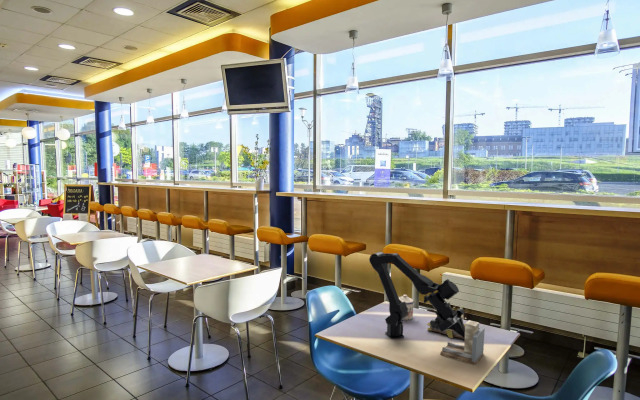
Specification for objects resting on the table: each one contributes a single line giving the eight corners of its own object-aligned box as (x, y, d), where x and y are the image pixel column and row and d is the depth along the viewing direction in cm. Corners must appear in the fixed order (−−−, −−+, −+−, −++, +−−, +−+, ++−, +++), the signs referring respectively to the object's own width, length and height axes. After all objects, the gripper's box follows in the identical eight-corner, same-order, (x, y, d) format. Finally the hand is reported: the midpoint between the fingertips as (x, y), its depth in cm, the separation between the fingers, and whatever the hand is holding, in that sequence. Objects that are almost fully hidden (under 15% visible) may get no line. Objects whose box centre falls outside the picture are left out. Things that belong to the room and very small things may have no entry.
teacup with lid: (410, 321, 200) (411, 298, 199) (393, 318, 204) (393, 296, 203) (416, 314, 210) (417, 292, 210) (399, 311, 215) (400, 290, 214)
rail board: (440, 354, 164) (440, 349, 163) (449, 344, 173) (449, 339, 173) (475, 364, 155) (475, 359, 155) (483, 353, 165) (483, 348, 165)
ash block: (463, 354, 161) (465, 323, 160) (467, 350, 165) (468, 320, 164) (474, 357, 159) (475, 326, 158) (477, 353, 163) (478, 322, 162)
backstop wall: (471, 361, 156) (472, 336, 156) (479, 350, 166) (480, 327, 165) (475, 362, 155) (476, 337, 155) (483, 351, 165) (484, 328, 164)
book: (430, 322, 203) (430, 312, 203) (480, 335, 188) (481, 324, 188) (417, 330, 190) (417, 319, 190) (470, 344, 175) (470, 333, 175)
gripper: (434, 309, 180) (458, 339, 174) (418, 321, 165) (443, 355, 159) (452, 296, 175) (477, 326, 169) (438, 307, 160) (464, 341, 154)
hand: (465, 337), depth 163 cm, fingers closed, pressing on ash block
